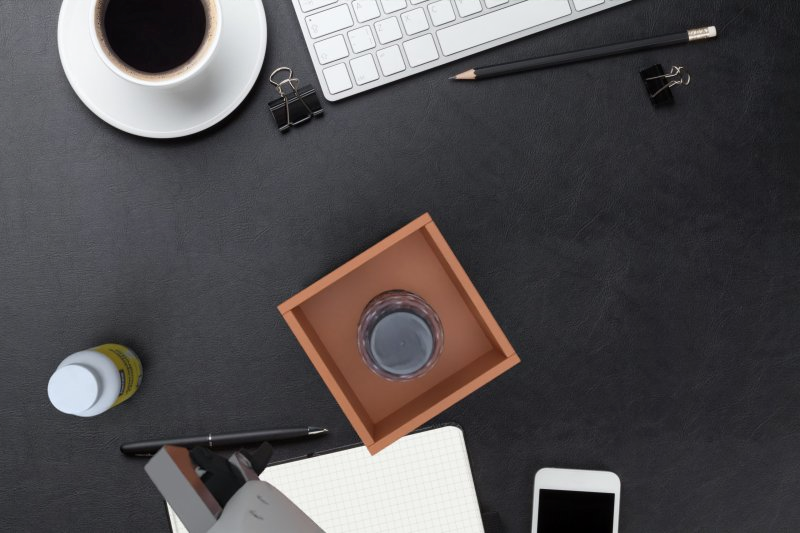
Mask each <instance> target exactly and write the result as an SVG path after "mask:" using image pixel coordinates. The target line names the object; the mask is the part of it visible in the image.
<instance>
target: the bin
mask: <svg viewBox="0 0 800 533" xmlns="http://www.w3.org/2000/svg"><path fill="white" fill-rule="evenodd" d="M393 289H402V290H407V291H411V292H413V293H415V294H417V295H419V296H420V297H422V298H423V299H424V300H425V301H426V302H427V303H428V304H429V305H430V306H431V307H432V308H433V309H434V310H435V312H436V313H437V315H438V316H439V318H440V320H441V323H442V326H443V330H444V345H443V350H442V353H441V355H440V358H439V360H438V361H437V363H436V364H435V366H434V367H433V368H432V369H431V370H430V371H429V372H428V373H426V374H425V375H423V376H422V377H420V378H418V379H415V380H412V381H408V382H394V381H389V380H386V379H383V378H381V377H379V376H378V375H376V374H375V373H374V372H372V371H371V370H370V369H369V368H368V367H367V366H366V365H365V363H364V362H363V360H362V358H361V356H360V353H359V351H358V347H357V328H358V325H357V324H358V323H359V321H360V317H361V314H362V312H363V310H364V308H365V307H366V305H367V304H368V303H369V301H370V300H372V298H374V297H375V296H376V295H378V294H380V293H383V292H385V291H389V290H393ZM276 307H277V310H278V311H279V313H280V314H281V315H282V317H283V319H284V321H285V322H286V324H287V325H288V327H289V328H290V331H291V332H292V333H293V335H294V336H295V338H296V339H297V342H298V343H299V344H300V346H301V347H302V349H303V351H304V352H305V354H306V355H307V357H308V358H309V360H310V362H311V363H312V365H313V367H314V368H315V369H316V371H317V372H318V374H319V375H320V377H321V379H322V380H323V382H324V383H325V385H326V386H327V389H328V390H329V391H330V393H331V395H332V396H333V397H334V399H335V401H336V402H337V404H338V406H339V407H340V409H341V410H342V412H343V413H344V415H345V416H346V418H347V419H348V421H349V423H350V425H351V426H352V428H353V429H354V431H355V432H356V434H357V435H358V436H359V438H360V440H361V442H362V443H363V444H364V446H365V448H366V449H367V451H368V452H369V454H370V456H372V457H373V456H375V455H377V454H378V453H380V452H381V451H383V450H384V449H386V448H387V447H389V446H391V445H392V444H394V443H396V442H397V441H399V440H400V439H402V438H403V437H405V436H407V435H408V434H410V433H411V432H413V431H414V430H416V429H417V428H419V427H421V426H422V425H424V424H425V423H427V422H428V421H430V420H432V419H433V418H434V417H436V416H438V415H440V414H441V413H443V412H444V411H445V410H447V409H449V408H450V407H452V406H453V405H455V404H456V403H458V402H460V401H461V400H463V399H464V398H466V397H467V396H469V395H470V394H472V393H474V392H475V391H477V390H478V389H480V388H482V387H483V386H484V385H486V384H487V383H489V382H491V381H493V380H494V379H495V378H497V377H498V376H500V375H502V374H503V373H505V372H506V371H508V370H510V369H511V368H513V367H514V366H516V365H517V364H519V363H521V362H522V360H521V359H520V357H519V356H518V353H516V351H515V349H514V348H513V346H512V345H511V343H510V341H509V339H508V338H507V336H506V335H505V333H504V331H503V330H502V329H501V327H500V325H499V324H498V322H497V320H496V319H495V317H494V316H493V314H492V313H491V311H490V309H489V308H488V306H487V305H486V303H485V301H484V299H483V298H482V296H481V295H480V293H479V291H478V290H477V288H476V287H475V286H474V284H473V282H472V281H471V279H470V278H469V276H468V274H467V273H466V271H465V269H464V268H463V266H462V265H461V263H460V261H459V260H458V258H457V257H456V255H455V254H454V251H453V250H452V249H451V247H450V245H449V244H448V243H447V241H446V239H445V237H444V236H443V234H442V233H441V231H440V230H439V228H438V227H437V225H436V222H434V220H433V218H432V217H431V215H430V214H429V213H428V211H427V212H425V213H423V214H421V215H420V216H419V217H417V218H415V219H413V220H412V221H410V222H409V223H407V224H406V225H404V226H403V227H400V229H398V230H396V231H395V232H393V233H391V234H390V235H388V236H387V237H384V238H383V239H382V240H380V241H379V242H377V243H375V244H374V245H372V246H371V247H369V248H368V249H366V250H365V251H363V252H361V253H359V254H358V255H356V256H355V257H354V258H352V259H350V260H348V261H347V262H345V263H344V264H342V265H340V266H339V267H337V268H335V269H334V270H333V271H331V272H330V273H328V274H326V275H325V276H323V277H321V278H320V279H318V280H317V281H315V282H314V283H312V284H310V285H309V286H307V287H305V288H304V289H302V290H301V291H299V292H297V293H296V294H295V295H293V296H291V297H290V298H287V300H285V301H283V302H281V303H280V304H279V305H277V306H276Z"/></svg>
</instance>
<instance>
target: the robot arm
mask: <svg viewBox="0 0 800 533" xmlns="http://www.w3.org/2000/svg"><path fill="white" fill-rule="evenodd" d="M274 452H275V451H274V450H273V446H272V445H271V444H270V443H269V442H268V441H267V440H265V441H264V442H262V443H261V444H260V446H258V448H257V449H256V450H254V452H253V453H250V452H248V451H247V450H246V449H245V448H244V447H241V448H239V450H235V451H233V452H232V453H231V454H230V456H228V458H226V457H225V456H222V455H220V454H218V453H215V452H213V451H211V450H210V449H209V448H208V447H203V446H201V445H195V446H194V447H193V448H192V449H191V450H188V449H187V447H184V446H179V445H173V444H163V445H162V447H161V448H160V449H159V450H158V451H157V452H156V453H155V454H154V455H153V456H152V457H151V458H150V459H148V461H147V462H146V463H145V464H144V466H143V470H144V471H145V472H146V474H147V475H148V477H149V478H150V480H151V481H152V483H153V484H154V486H155V487H156V488H157V490H158V492H160V494H161V495H162V497H163V499H164V500H165V501H166V503H167V504H168V505H169V507H170V508H171V510H172V511H173V512H174V514H175V516H176V517H177V518H178V520H179V521H180V522H181V524H182V525H183V527H184V528H185V529H186V531H187V532H188V533H327V532H326V531H325V530H324V529H323V528H322V527H321V526H320V525H319V524H317V522H315V521H314V520H313V519H312V518H311V517H310V516H309V515H307V513H305V512H304V511H303V510H302V509H301V508H300V507H299V506H298V505H297V504H296V503H294V501H292V500H291V499H290V498H289V497H288V496H287V495H286V494H284V493H283V492H282V491H281V490H280V489H278V488H277V487H276V486H274V485H273V484H271V483H270V482H268V481H267V480H261V478H260V476H261V475H262V474H263V473H264V471H265V470H266V469H267V466H268V464H269V462H270V461H271V458H272V457H273V455H274Z"/></svg>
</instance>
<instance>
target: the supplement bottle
mask: <svg viewBox="0 0 800 533" xmlns="http://www.w3.org/2000/svg"><path fill="white" fill-rule="evenodd" d="M357 325H358V328H357V347H358V351H359V353H360V356H361V358H362V360H363V362H364V363H365V365H366V366H367V367H368V368H369V369H370V370H371V371H372V372H374V373H375V374H376V375H378V376H379V377H381V378H383V379H386V380H389V381H394V382H408V381H412V380H415V379H418V378H420V377H422V376H423V375H425V374H426V373H428V372H429V371H430V370H431V369H432V368H433V367H434V366H435V364H436V363H437V361H438V360H439V358H440V355H441V353H442V350H443V345H444V330H443V326H442V323H441V320H440V318H439V316H438V315H437V313H436V312H435V310H434V309H433V308H432V307H431V306H430V305H429V304H428V303H427V302H426V301H425V300H424V299H423V298H422V297H420V296H419V295H417V294H415V293H413V292H411V291H407V290H402V289H393V290H389V291H385V292H383V293H380V294H378V295H376V296H375V297H374V298H372V300H370V301H369V303H368V304H367V305H366V307H365V308H364V310H363V312H362V314H361V317H360V321H359V323H358V324H357Z"/></svg>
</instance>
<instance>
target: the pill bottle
mask: <svg viewBox="0 0 800 533" xmlns="http://www.w3.org/2000/svg"><path fill="white" fill-rule="evenodd" d="M143 374H144V372H143V365H142V362H141V359H140V358H139V356H138V355H137V354H136V353H135V351H134V350H132V349H131V347H128V346H126V345H123V344H122V343H121V344H120V343H115V342H114V343H110V342H109V343H105V344H100V345H98V346H94V347H90V348H86V349H84V350H79V351H77V352H74V353H72V354H70V355H68V356H67V357H65V358H64V359H63V360H62V361H61V362H60V364H59V365H58V366H57V368H56V369H55V371H54V372H53V374H52V375H51V377H50V378H49V381H48V385H47V395H48V398H49V401H50V403H51V404H52V406H54V407H55V408H56V409H57V410H58V411H60V412H62V413H64V414H68V415H74V416H77V417H85V418H87V417H89V418H90V417H95V416H98V415H100V414H102V413H104V412H106V411H108V410H110V409H112V408H114V407H115V406H117V405H119V404H121V403H123V402H125V401H126V400H128V399H130V398H131V397H132V396H133V395H135V393H136V392H137V391H138V389H139V388H140V385H141V384H142V380H143Z"/></svg>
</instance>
